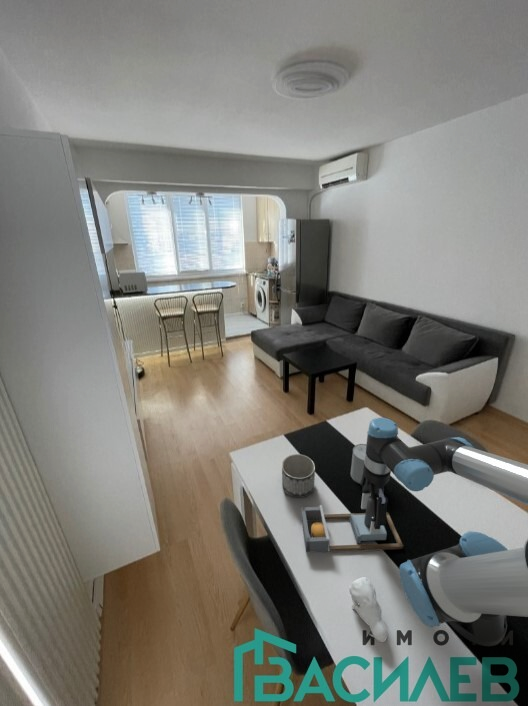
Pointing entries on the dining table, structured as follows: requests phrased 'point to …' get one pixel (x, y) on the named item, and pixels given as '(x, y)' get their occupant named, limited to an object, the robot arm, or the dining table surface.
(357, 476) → the grey cylinder
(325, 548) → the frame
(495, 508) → the dining table surface
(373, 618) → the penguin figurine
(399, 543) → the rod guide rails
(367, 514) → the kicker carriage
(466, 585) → the robot arm
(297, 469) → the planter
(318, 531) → the orange rounded piece
